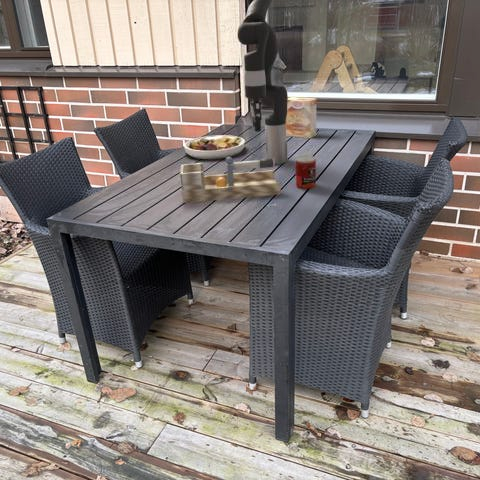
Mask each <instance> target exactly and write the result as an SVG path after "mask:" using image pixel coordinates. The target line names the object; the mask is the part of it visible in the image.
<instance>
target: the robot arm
mask: <svg viewBox="0 0 480 480" xmlns="http://www.w3.org/2000/svg"><path fill="white" fill-rule="evenodd" d="M246 2H247V3H246V4H247V7H248V8H247V11H246V15H245V17H244V18H243V19H242V21H241V22H240V24H239V25H238V28H237V40H238V42H239V43H241V45H244V46H252V45H253V47H254V50H253V51H250V52H246V53H245V54H244V56H243V57H244V58H243V60H244V61H243V63H244V80H243V81H244V97H245V98H246V99H250V102H249V106H250V113H251V117H252V127H253V128H254V131H255V132H257V133H258V132H261V131H262V123H261V122H262V119H263V118H262V114H263V113H262V111H263V110H262V109H263V108H262V107H265V108H273V112H272V113H271V114H269V115H267V116H265V118H264V132H265V134H264V138H265V159H270V158H273V159H274V163H275V165H280V164H284V163H288V158H289V156H288V140H287V136H286V117H287V103H288V98H289V96H288V90H287V89H286V87H285V86H284V85H275V84H272V69H273V67H274V64H275V62H276V59H277V57H278V51H279V50H278V49H279V48H278V40H277V36H276V33H275V31H274V29H273V28H272V27H271V25H269V23H268V22H267V21H266V18H267V12H268V10H269V8H270V6H271V3H272V2H273V0H246Z"/></svg>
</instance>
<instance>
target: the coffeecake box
mask: <svg viewBox="0 0 480 480" xmlns="http://www.w3.org/2000/svg"><path fill="white" fill-rule="evenodd" d="M286 137H293V138H304V139H312V138H314V137H317V98H316V97H315V98H314V97H312V98H309V97H295V96H291V97H288V103H287V117H286Z"/></svg>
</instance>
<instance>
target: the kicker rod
mask: <svg viewBox="0 0 480 480" xmlns="http://www.w3.org/2000/svg"><path fill="white" fill-rule="evenodd" d="M225 163H226V174H227V177H228V186H234V180H233V173H234V171H236V170H237V171H238V170H247V169H269V168H274V167H275V165H276V164H275V163H274V159H273V158H270V159H266V158H261V159H260V158H259V159H258V160H257V159H256V160H246V161H245V160H243V161H235V162H234V160H233V157H232V156H230V157H226V158H225Z"/></svg>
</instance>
